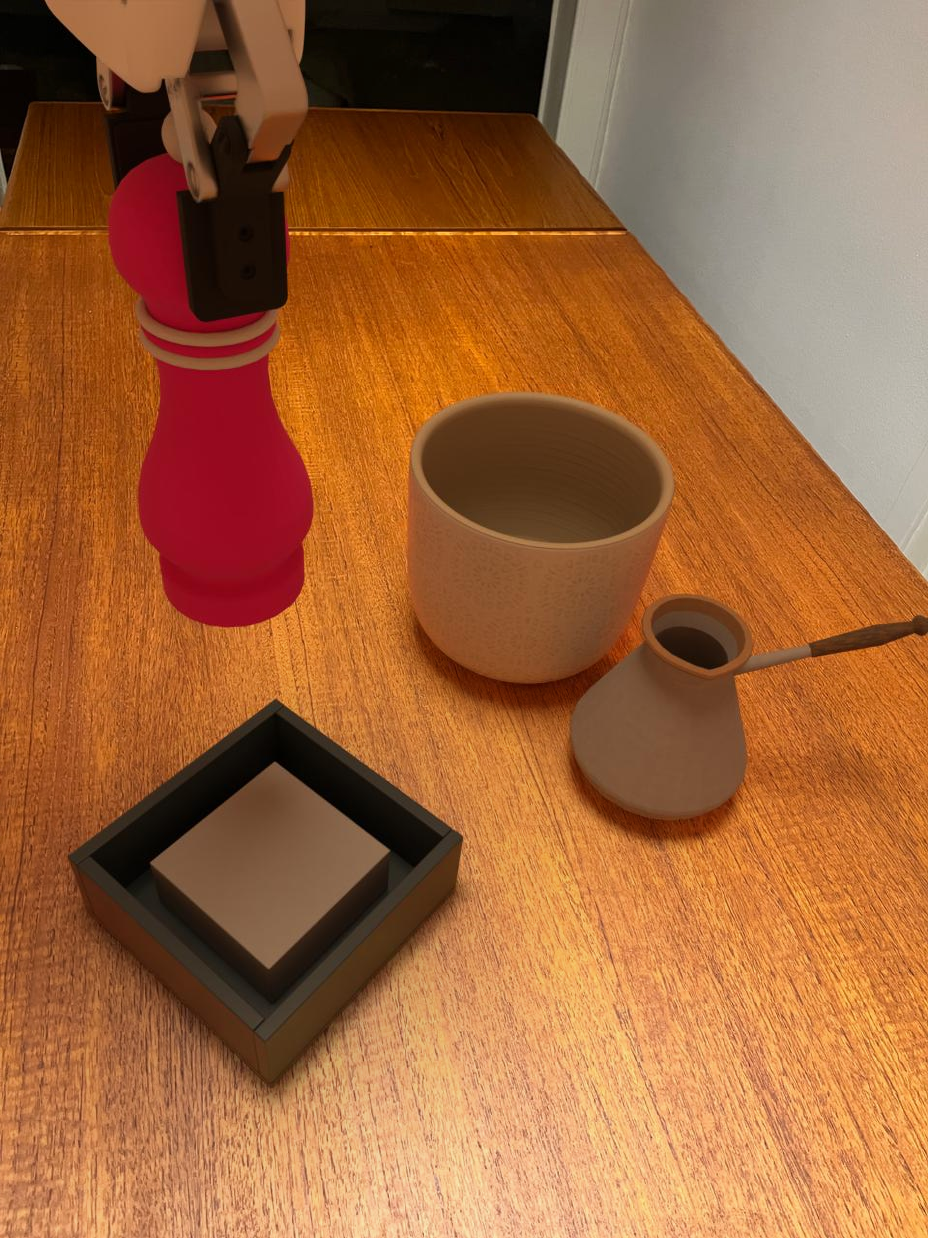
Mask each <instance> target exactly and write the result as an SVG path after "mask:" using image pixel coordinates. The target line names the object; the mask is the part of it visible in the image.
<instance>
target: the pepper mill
mask: <svg viewBox="0 0 928 1238" xmlns="http://www.w3.org/2000/svg"><path fill="white" fill-rule="evenodd" d="M203 114H204V119H205V124H206V129H207V134H208V139H209V143H211V140H212V138H213V135H214V133H215V130H216V128H217V124H216V122H215V120H214V119H213V118H212V116H211V115H210V114H209V113H208V112H207V111H205V110H204V109H203ZM162 139H163V143H164V146H165V148H166V150H167V152H168V153H165V154H161V155H159V156H156V157H153V158H151V159H148V160H146V161H144V162H143V163H141V164H139V165H138V166H136V167H135V168H133V169H132V170H131V171H130V172H129V173H128V174H127V175H126V176H125V177H124V178H123V179H122V180H121V182H120V184H119V186H118V188H117V190H116V191H115V190H114V193H113V195H112V197H111V201H110V205H109V210H108V214H107V231H108V232H107V233H108V237H107V238H108V245H109V249H110V253H111V257H112V261H113V265H114V266H115V269H116V270H117V272H118V274H119V275H120V277H121V278H122V279H123V280H124V281H125V283H127V285H128V287H130V288H131V289H132V290H133V292H135V293H137V294H138V295H139V297H138V298H137V300H136V302H135V305H134V314H135V316H136V319H137V321H138V323H139V327H138V338H139V341H140V343H141V345H142V347H143V348H144V349H145V350H146V351H147V353H149V354H150V355H151V356H153V357H154V359H155V363H156V367H157V371H158V376H159V377H158V381H159V394H160V396H159V405H158V411H157V412H158V413H157V417H156V422H155V426H154V429H153V432H152V437H151V440H150V442H149V445H148V448H147V450H146V453H145V455H144V458H143V461H142V464H141V468H140V474H139V479H138V485H137V504H138V519H139V523H140V527H141V529H142V533H143V534H144V536H145V537H146V539H147V541H148V543H149V544H150V545H151V546H152V547H153V548H154V550H156V551H157V552H158V553H159V557H158V558H159V559H158V562H159V567H160V574H161V579H162V586H163V590H164V594H165V596H166V599H167V600H168V601H169V604H171V606H172V607H173V608H174V609H175V610H176V611H177V612H179V613H180V614H181V615H183V616H185V617H186V618H188V619H189V620H191V621H194V622H197V623H200V624H202V625H206V626H211V627H218V628H226V629H227V628H243V627H244V628H245V627H250V626H253V625H257V624H261V623H264V622H266V621H268V620H271V619H273V618H276V617H277V616H279V615H280V614H282V613H283V612H285V611H286V610H287V609H288V608H290V607H291V606H292V605H293V604H294V603H295V602H296V600H297V599H298V597H300V595H301V593H302V590H303V587H304V584H305V577H306V575H305V574H306V573H305V572H306V571H305V551H304V545H303V542H304V540H305V539H306V537H307V536H308V533H309V532H310V529H311V528H312V523H313V520H314V513H315V512H314V510H315V509H314V508H315V504H314V503H315V502H314V496H313V488H312V487H313V486H312V481H311V478H310V475H309V473H308V471H307V470H308V469H307V468H306V465H305V462H304V460H303V457H302V455H301V453H300V452H299V450H298V449H297V447H296V445H295V444H294V441H292V439H291V437H290V435H289V432H288V431H287V429H286V428H285V427H284V425H283V423H282V421H281V419H280V416H279V413H278V410H277V406H276V404H275V400H274V397H273V393H272V386H271V380H270V379H271V378H270V373H269V370H270V369H269V364H270V360H269V359H270V353H271V352H272V351H273V349H274V348H275V347H276V346H277V344H278V343H279V340H280V336H281V328H280V325H279V323H278V322H277V319H278V317H279V313H280V308H279V309H274V310H269V311H264V312H259V313H254V314H248V315H243V316H238V317H233V318H227V319H222V320H217V321H212V322H201V321H200V320H198V319H197V318H196V316H195V315H194V314H193V313H192V311H191V310H190V308H189V301H188V293H187V284H186V275H185V267H184V258H183V249H182V241H181V232H180V223H179V215H178V206H177V197H176V191H181V190H189V188H188V184H187V180H186V175H185V171H184V166H183V161H182V157H181V152H180V148H179V143H178V138H177V134H176V129H175V125H174V120H173V116H172V111H170V113H169V114H168V115H167V117H166V118H165V119H164V123H163V126H162ZM285 231H286V256H287V268H288V267H289V263H290V259H291V258H290V256H291V255H290V254H291V237H290V231H289V223H288V219H287V216H286V214H285Z"/></svg>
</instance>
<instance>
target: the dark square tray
mask: <svg viewBox="0 0 928 1238" xmlns="http://www.w3.org/2000/svg"><path fill="white" fill-rule="evenodd" d="M274 762H276V763H278V764H279V765H280V766H282V767H283V768H284V769H285V770H287V771H288V772H289V773H291V774H292V775H293V776H294V777H296V778H297V779H298V780H300V781H301V782H302V783H304V784H305V785H306V786H307V787H309V788H310V789H311V790H313V791H314V792H315V793H317V794H318V795H319V796H320V797H322V798H323V799H324V800H326V801H327V802H328V803H329V804H331V805H332V806H333V807H335V808H336V809H337V810H339V811H340V812H341V813H342V814H344V815H345V816H346V817H348V818H349V819H350V820H352V821H353V822H354V823H355V824H357V825H358V826H359V827H361V828H362V829H363V830H364V831H366V832H367V833H368V834H370V835H371V836H372V837H374V838H375V839H376V840H377V841H379V842H380V843H381V844H383V845H384V846H385V847H387V848H388V849H389V850H390V862H389V878H388V888H387V889H386V890H385V891H384V892H383V893H382V894H381V896H380V897H379V898H378V899H377V900H376V901H375V902H374V903H373V904H372V905H371V906H370V907H369V908H368V909H367V910H366V911H365V912H364V913H363V914H362V915H361V916H360V917H359V918H358V919H357V920H356V921H355V922H354V923H353V924H352V925H351V926H350V927H349V928H348V929H347V930H346V931H345V932H344V933H343V934H342V935H341V936H340V937H339V938H338V939H337V940H336V941H335V942H334V943H333V944H332V945H331V946H330V947H329V948H328V949H327V950H326V951H325V952H324V953H323V954H322V955H321V956H320V957H319V958H318V959H317V960H316V961H315V962H314V963H313V964H312V965H311V966H310V967H309V968H308V969H307V970H306V971H305V972H304V973H303V974H302V975H301V976H300V977H299V978H298V979H297V980H296V981H295V982H294V983H293V984H292V985H291V987H290V988H289V989H288V990H287V991H286V992H285V993H284V994H283V995H282V996H281V997H280V998H279V999H278V1000H277V1001H276V1002H275V1003H274V1004H272V1003H271V1002H269V1001H268V1000H267V999H266V998H265V997H264V996H263V995H262V994H261V993H260V992H259V991H257V990H256V989H255V988H254V987H253V986H252V985H251V984H250V983H249V982H248V981H246V980H245V979H244V978H243V977H242V976H241V975H240V974H239V973H238V972H237V971H236V970H234V969H233V968H232V967H231V966H230V965H229V964H228V963H227V962H226V961H225V960H224V959H222V958H221V957H220V956H219V955H218V954H217V953H216V952H215V951H214V950H213V949H212V948H210V947H209V946H208V945H207V944H206V943H205V942H204V941H203V940H202V939H201V938H199V937H198V936H197V935H196V934H195V933H194V932H193V931H192V930H191V929H190V928H189V927H187V926H186V925H185V924H184V923H183V922H182V921H181V920H180V919H179V918H178V917H177V916H175V915H174V914H173V913H172V912H171V911H170V910H169V909H168V908H167V907H166V906H164V905H163V904H162V903H161V902H160V900H159V896H158V892H157V888H156V885H155V881H154V877H153V873H152V869H151V865H150V862H151V861H153V860H154V859H155V858H156V857H158V856H159V855H160V854H161V853H162V852H164V851H165V850H166V849H167V848H169V847H170V846H171V845H172V844H174V843H175V842H176V841H177V840H178V839H180V838H181V837H182V836H183V835H185V834H186V833H187V832H188V831H190V830H191V829H192V828H193V827H195V826H196V825H197V824H198V823H199V822H201V821H202V820H203V819H204V818H206V817H207V816H208V815H209V814H211V813H212V812H213V811H214V810H216V809H217V808H218V807H219V806H220V805H222V804H223V803H224V802H225V801H227V800H228V799H229V798H230V797H232V796H233V795H234V794H235V793H237V792H238V791H239V790H240V789H241V788H243V787H244V786H245V785H246V784H248V783H249V782H250V781H251V780H253V779H254V778H255V777H256V776H258V775H259V774H260V773H261V772H262V771H264V770H265V769H266V768H267V767H269V766H270V765H271V764H272V763H274ZM463 842H464V836H463V835H462V834H461V833H460V832H458V831H457V830H455V829H454V828H453V827H451V826H450V825H449V824H447V823H446V822H444V821H443V820H442V819H440V818H439V817H437V816H436V815H435V814H433V812H431V811H429V809H427V808H425V807H424V806H423V805H421V803H419V802H417V801H416V800H415V799H413V798H412V797H410V796H409V795H408V794H406V793H405V792H404V791H403V790H400V789H399V788H398V787H397V786H396V785H394V784H393V783H392V782H390V781H389V780H387V779H386V778H385V777H383V776H381V775H380V774H379V773H378V772H376V771H375V770H374V769H372V768H371V767H369V766H368V764H365V763H364V762H363V761H362V760H360V759H359V758H357V757H356V756H355V755H353V754H352V753H350V752H349V751H348V750H347V749H345V748H344V747H342V746H341V745H340V744H338V743H337V742H336V741H334V740H333V739H331V738H330V737H329V736H327V735H326V734H325V733H323V732H322V731H321V730H319V729H318V728H317V727H315V726H314V725H313V724H311V723H310V722H308V721H307V720H306V719H304V718H303V717H301V716H300V715H299V714H297V713H296V712H294V710H292V709H291V708H289V707H288V706H287V705H285V704H284V703H282V702H281V701H280V700H279V699H277V698H274V699H273V700H272V701H270V702H269V703H267V704H266V705H265V706H263V707H262V708H261V709H260V710H258V711H257V712H256V713H255V714H253V715H252V716H250V717H249V718H248V719H246V720H245V721H244V722H242V723H241V724H240V725H238V726H237V727H236V728H234V729H233V730H232V731H231V732H229V733H228V734H226V736H224V737H223V738H221V739H220V740H219V741H217V742H216V743H215V744H213V745H212V746H211V747H210V748H208V749H207V750H205V751H204V752H203V753H202V754H200V755H198V757H196V758H195V759H194V760H193V761H190V763H188V764H187V765H186V766H185V767H183V768H182V769H180V770H179V771H178V772H177V773H175V774H173V775H172V776H171V777H170V778H168V779H167V780H166V781H164V783H162V784H161V785H159V786H158V787H157V788H156V789H154V790H152V792H150V793H149V794H148V795H146V796H145V797H144V798H142V799H140V801H139V802H137V803H136V804H134V805H133V806H131V808H129V809H128V810H127V811H125V812H124V813H122V814H121V815H120V816H118V817H117V818H116V819H115V820H113V821H112V822H111V823H109V824H107V826H105V827H104V828H103V829H102V830H100V831H99V832H97V833H96V834H95V835H93V836H92V837H91V838H90V839H87V841H86V842H84V843H83V844H82V845H80V846H78V848H76V849H75V850H74V851H72V852H71V853H70V854H69V855H67V860H68V862H69V865H70V867H71V870H72V873H73V876H74V878H75V882H76V884H77V887H78V890H79V892H80V895H81V898H82V900H83V903H84V906H85V909H86V912H87V913H88V914H89V915H90V916H92V918H94V919H95V920H96V922H98V923H99V924H100V925H101V926H102V927H103V928H104V929H105V930H106V931H107V932H108V933H109V934H110V935H111V936H113V938H115V940H117V942H119V943H120V944H121V945H122V946H123V948H125V949H126V950H127V951H128V952H129V953H130V954H131V955H132V956H133V957H134V958H135V959H136V960H137V961H138V962H139V963H140V964H141V965H142V966H144V967H145V968H146V969H147V970H148V972H150V973H151V974H152V976H154V977H155V978H156V979H157V980H158V981H159V982H160V983H161V984H162V985H163V986H164V987H165V988H166V989H168V991H170V992H171V994H173V996H175V997H176V999H178V1000H179V1002H181V1003H182V1005H184V1006H185V1007H186V1008H187V1009H188V1010H189V1011H190V1012H191V1013H192V1014H193V1015H194V1016H196V1018H198V1020H199V1021H200V1022H202V1023H203V1024H204V1025H205V1026H206V1027H207V1028H208V1029H209V1030H210V1031H211V1032H212V1033H213V1034H214V1035H215V1036H216V1037H217V1038H218V1039H219V1040H220V1041H221V1042H222V1043H223V1044H224V1045H225V1046H227V1048H228V1049H230V1051H231V1052H233V1053H234V1054H235V1055H236V1056H237V1057H238V1058H239V1059H240V1060H241V1061H242V1062H243V1063H244V1064H245V1065H246V1066H247V1067H248V1068H249V1069H250V1070H251V1071H252V1072H253V1073H254V1074H255V1075H257V1076H258V1077H259V1078H260V1079H261V1080H262V1082H264V1083H265V1084H266V1085H267V1086H268V1087H269V1088H271V1089H272V1088H274V1086H276V1084H277V1083H278V1082H279V1081H280V1080H281V1079H282V1078H283V1077H284V1075H286V1074H287V1072H288V1071H289V1070H290V1069H291V1068H292V1067H293V1066H294V1065H295V1063H297V1062H298V1060H299V1059H300V1058H301V1057H302V1056H303V1055H304V1054H305V1053H306V1052H307V1051H308V1050H309V1049H310V1047H312V1045H313V1044H314V1043H315V1042H316V1041H317V1040H318V1039H319V1038H320V1037H321V1035H322V1034H323V1033H324V1032H325V1031H326V1030H327V1029H328V1028H329V1027H330V1026H331V1025H332V1024H333V1022H335V1020H336V1019H337V1018H338V1017H340V1015H341V1014H342V1013H343V1012H344V1011H345V1009H347V1008H348V1006H350V1005H351V1003H352V1002H353V1001H354V1000H355V999H356V998H357V996H359V995H360V993H361V992H362V991H363V990H364V989H365V988H366V987H367V986H368V985H369V983H371V982H372V981H373V980H374V978H376V976H377V975H378V974H379V973H380V972H381V971H382V970H383V969H384V968H385V967H386V965H387V964H388V963H389V962H390V961H391V960H392V959H393V958H394V957H395V956H396V955H397V954H398V952H400V950H401V949H402V948H403V947H404V946H405V945H406V944H407V943H408V941H410V940H411V938H413V936H414V935H415V934H416V933H417V932H418V931H419V930H420V929H421V927H423V925H425V923H426V922H427V921H428V920H429V919H430V918H431V917H432V916H433V915H434V914H435V913H436V912H437V910H438V909H439V908H440V907H441V906H442V905H443V904H444V903H445V902H446V900H447V899H448V898H449V897H450V896H451V895H452V894H453V893H454V892H455V891H456V889H457V881H458V875H459V873H458V872H459V869H460V864H461V863H460V862H461V857H462V850H463Z"/></svg>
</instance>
